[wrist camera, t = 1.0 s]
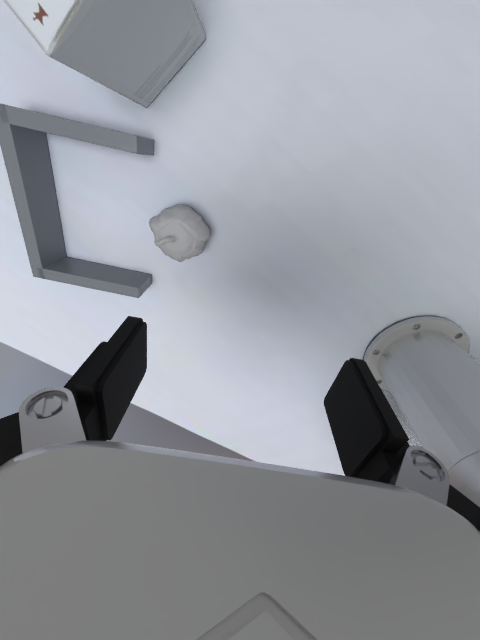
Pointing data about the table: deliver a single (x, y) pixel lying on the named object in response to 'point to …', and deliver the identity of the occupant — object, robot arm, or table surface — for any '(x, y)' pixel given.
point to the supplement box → (116, 39)
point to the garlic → (179, 232)
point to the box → (41, 201)
